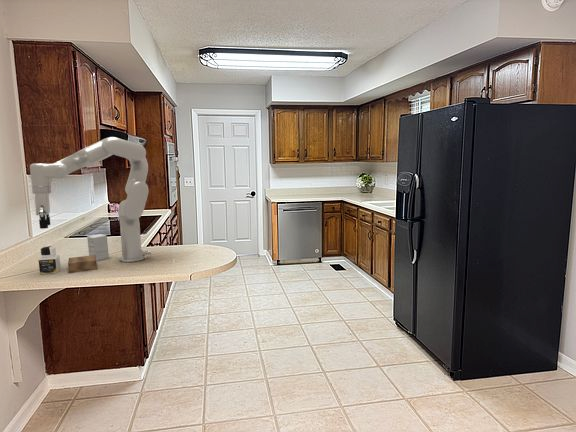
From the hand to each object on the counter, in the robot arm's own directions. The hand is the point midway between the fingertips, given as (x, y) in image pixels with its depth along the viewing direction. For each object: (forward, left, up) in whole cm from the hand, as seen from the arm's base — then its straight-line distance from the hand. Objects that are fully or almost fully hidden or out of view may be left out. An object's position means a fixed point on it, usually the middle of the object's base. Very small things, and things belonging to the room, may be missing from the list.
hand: (45, 226), depth 189 cm
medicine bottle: (0, 0, -22) cm, 22 cm away
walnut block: (-14, +1, -22) cm, 26 cm away
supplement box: (-21, -16, -22) cm, 34 cm away
